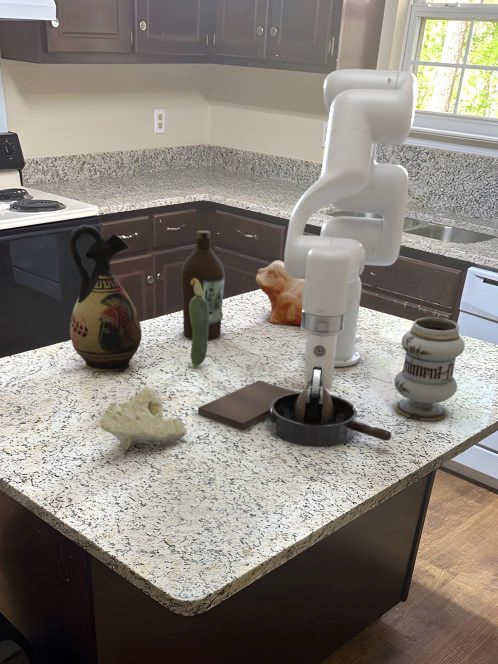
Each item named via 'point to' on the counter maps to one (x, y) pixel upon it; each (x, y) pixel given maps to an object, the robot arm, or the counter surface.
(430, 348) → the apothecary jar
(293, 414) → the pan
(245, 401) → the board
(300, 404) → the vase
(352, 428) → the pan handle
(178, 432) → the cream coral rock
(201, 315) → the vegetable
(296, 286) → the ceramic vessel
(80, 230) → the ceramic jug
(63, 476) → the counter surface
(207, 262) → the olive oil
